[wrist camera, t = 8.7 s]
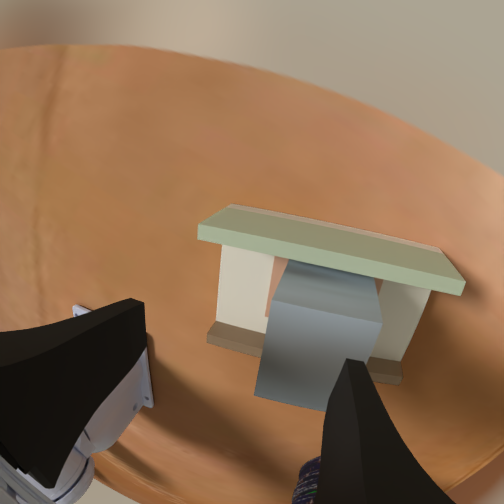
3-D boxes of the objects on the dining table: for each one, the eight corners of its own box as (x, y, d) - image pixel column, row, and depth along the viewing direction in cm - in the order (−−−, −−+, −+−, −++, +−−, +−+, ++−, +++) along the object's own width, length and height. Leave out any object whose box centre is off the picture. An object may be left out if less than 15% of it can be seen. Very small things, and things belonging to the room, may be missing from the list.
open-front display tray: (394, 360, 18) (401, 409, 14) (220, 321, 20) (193, 362, 16) (438, 247, 15) (466, 281, 11) (231, 203, 17) (198, 223, 13)
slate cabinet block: (346, 338, 17) (342, 414, 12) (280, 323, 18) (253, 395, 12) (370, 260, 15) (383, 323, 10) (295, 244, 16) (271, 299, 11)
